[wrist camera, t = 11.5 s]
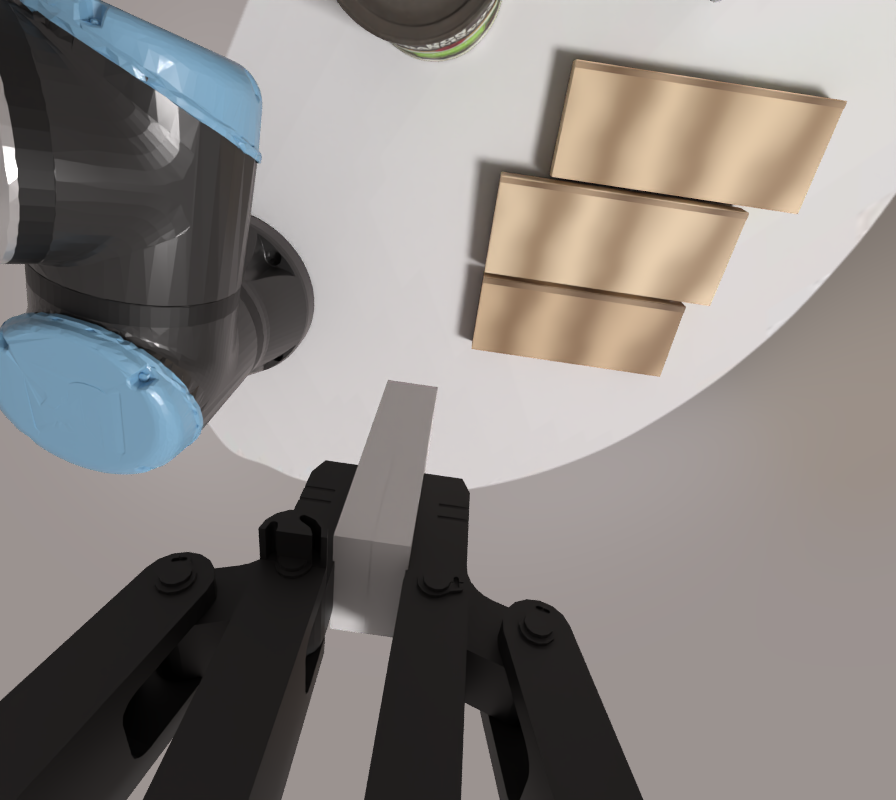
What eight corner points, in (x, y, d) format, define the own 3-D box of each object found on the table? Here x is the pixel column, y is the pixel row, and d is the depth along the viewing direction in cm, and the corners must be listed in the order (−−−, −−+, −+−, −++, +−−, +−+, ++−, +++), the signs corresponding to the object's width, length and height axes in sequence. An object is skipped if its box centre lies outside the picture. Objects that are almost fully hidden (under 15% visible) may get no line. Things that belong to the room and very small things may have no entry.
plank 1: (549, 174, 44) (551, 176, 43) (573, 61, 41) (576, 59, 39) (786, 210, 45) (798, 214, 43) (832, 101, 41) (847, 101, 39)
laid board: (472, 341, 52) (471, 349, 50) (484, 270, 49) (484, 276, 47) (654, 368, 52) (660, 377, 51) (679, 300, 49) (686, 307, 47)
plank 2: (484, 265, 48) (484, 272, 47) (501, 171, 44) (501, 175, 43) (703, 298, 49) (710, 306, 47) (740, 207, 44) (749, 213, 43)
